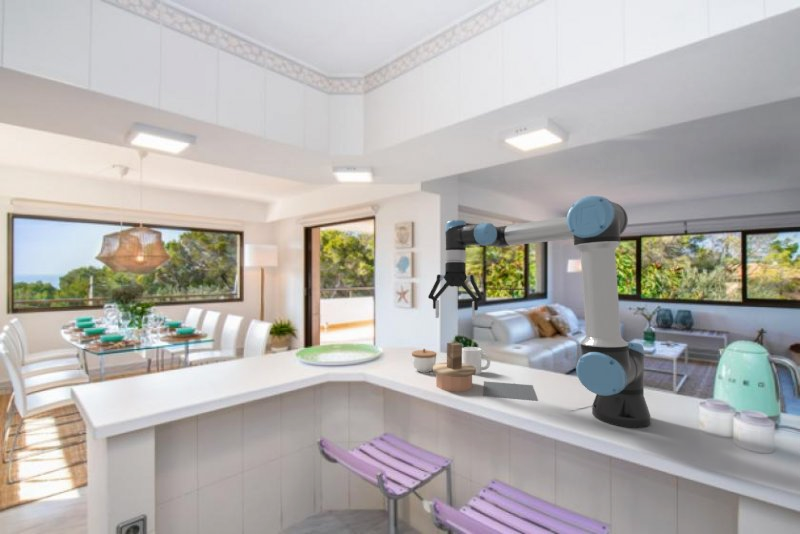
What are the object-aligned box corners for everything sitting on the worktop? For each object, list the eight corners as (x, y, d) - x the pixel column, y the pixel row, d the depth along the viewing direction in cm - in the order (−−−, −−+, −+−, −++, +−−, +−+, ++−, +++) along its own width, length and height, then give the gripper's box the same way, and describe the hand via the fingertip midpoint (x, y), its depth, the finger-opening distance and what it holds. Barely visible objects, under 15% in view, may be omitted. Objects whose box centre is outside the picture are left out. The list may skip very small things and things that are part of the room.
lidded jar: (406, 370, 164) (406, 348, 165) (423, 366, 172) (423, 345, 172) (424, 375, 156) (424, 352, 157) (441, 370, 164) (441, 349, 164)
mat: (532, 386, 143) (532, 385, 143) (538, 402, 125) (538, 400, 125) (483, 382, 147) (483, 381, 147) (482, 397, 130) (483, 395, 130)
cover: (484, 373, 138) (485, 345, 138) (448, 379, 130) (449, 349, 130) (458, 363, 152) (459, 338, 152) (424, 368, 144) (425, 341, 145)
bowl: (478, 389, 138) (478, 373, 138) (449, 394, 132) (449, 377, 132) (457, 380, 150) (457, 365, 150) (429, 384, 144) (430, 368, 144)
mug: (490, 372, 163) (491, 348, 163) (489, 377, 155) (489, 352, 155) (463, 369, 167) (463, 346, 167) (460, 374, 159) (460, 349, 159)
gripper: (490, 262, 141) (489, 318, 141) (425, 262, 149) (425, 315, 148) (488, 261, 134) (488, 321, 134) (420, 261, 142) (420, 318, 141)
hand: (455, 318), depth 141 cm, fingers open, 13 cm apart
